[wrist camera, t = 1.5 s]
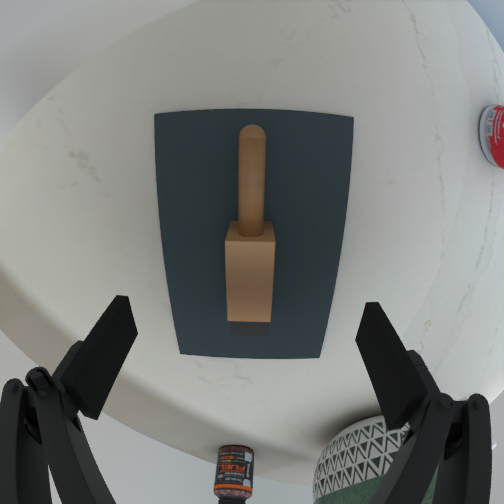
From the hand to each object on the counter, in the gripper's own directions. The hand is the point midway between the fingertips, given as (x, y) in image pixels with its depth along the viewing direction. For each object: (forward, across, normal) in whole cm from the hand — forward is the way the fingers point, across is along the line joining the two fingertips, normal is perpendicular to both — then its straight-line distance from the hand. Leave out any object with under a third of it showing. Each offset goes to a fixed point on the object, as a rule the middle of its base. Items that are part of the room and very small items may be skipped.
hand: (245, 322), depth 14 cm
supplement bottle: (+9, -2, -36) cm, 37 cm away
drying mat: (+8, 0, 0) cm, 8 cm away
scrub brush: (+8, 0, +3) cm, 8 cm away
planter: (+8, +18, -29) cm, 35 cm away
